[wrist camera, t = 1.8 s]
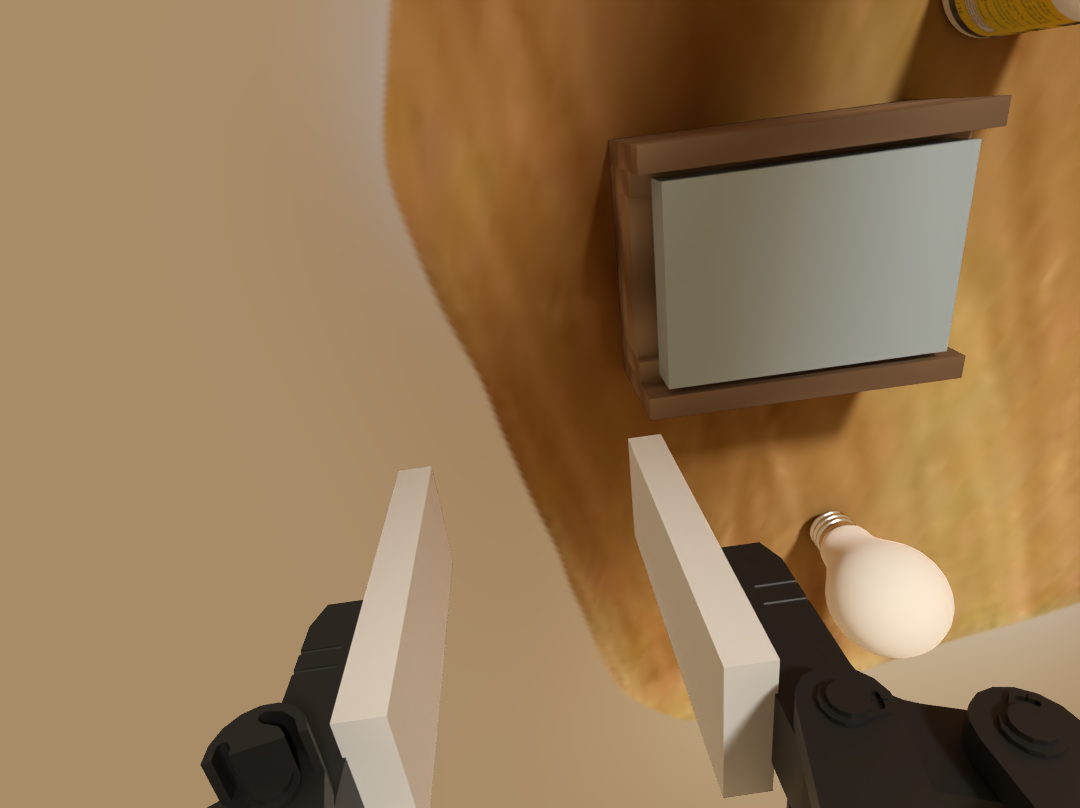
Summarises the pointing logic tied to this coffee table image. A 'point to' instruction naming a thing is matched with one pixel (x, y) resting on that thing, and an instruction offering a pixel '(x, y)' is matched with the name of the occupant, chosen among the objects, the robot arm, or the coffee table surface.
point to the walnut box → (758, 145)
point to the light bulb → (881, 589)
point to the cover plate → (810, 260)
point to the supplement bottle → (1010, 16)
